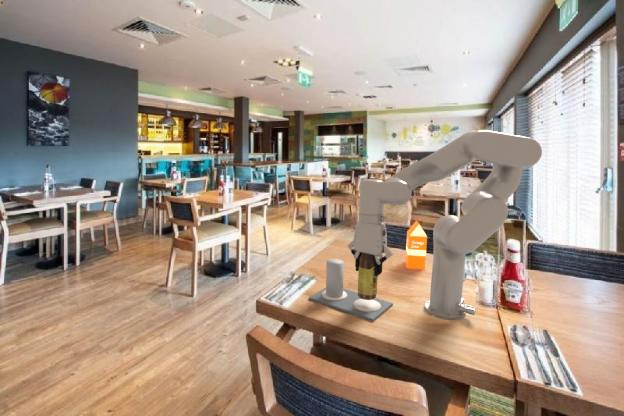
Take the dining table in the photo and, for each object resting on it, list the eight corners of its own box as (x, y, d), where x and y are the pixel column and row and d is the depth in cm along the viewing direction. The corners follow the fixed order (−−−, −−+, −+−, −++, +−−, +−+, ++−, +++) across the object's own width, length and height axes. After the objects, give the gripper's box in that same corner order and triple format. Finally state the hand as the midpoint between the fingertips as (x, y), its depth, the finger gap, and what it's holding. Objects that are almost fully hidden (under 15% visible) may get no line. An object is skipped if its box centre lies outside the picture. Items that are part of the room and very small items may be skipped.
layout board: (392, 305, 119) (394, 268, 116) (373, 321, 108) (375, 281, 105) (331, 286, 133) (332, 253, 131) (308, 299, 122) (309, 263, 120)
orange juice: (406, 268, 154) (409, 223, 150) (404, 261, 163) (407, 219, 159) (425, 269, 153) (428, 224, 149) (422, 262, 161) (425, 220, 158)
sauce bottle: (376, 302, 112) (379, 242, 108) (356, 300, 113) (359, 240, 110) (376, 293, 118) (380, 236, 115) (358, 291, 120) (360, 235, 116)
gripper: (401, 220, 109) (397, 275, 112) (353, 213, 119) (351, 263, 122) (391, 224, 103) (387, 282, 106) (341, 216, 113) (339, 269, 117)
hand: (368, 271), depth 114 cm, fingers closed on sauce bottle, 6 cm apart
